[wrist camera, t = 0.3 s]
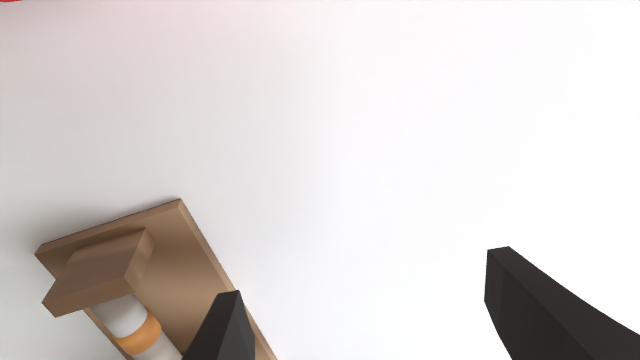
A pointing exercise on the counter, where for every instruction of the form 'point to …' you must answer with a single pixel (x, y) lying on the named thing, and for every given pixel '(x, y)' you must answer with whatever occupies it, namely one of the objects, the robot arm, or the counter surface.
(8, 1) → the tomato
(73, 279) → the towel rail
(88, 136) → the counter surface
